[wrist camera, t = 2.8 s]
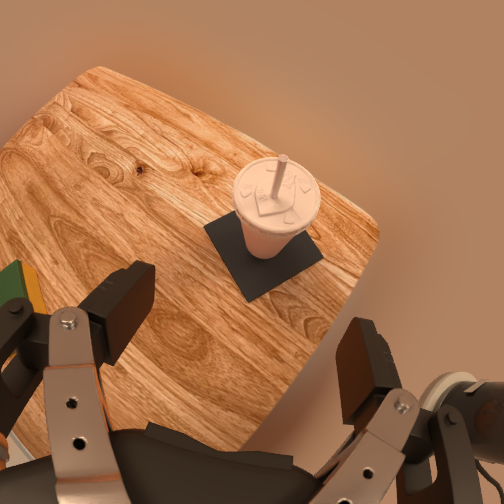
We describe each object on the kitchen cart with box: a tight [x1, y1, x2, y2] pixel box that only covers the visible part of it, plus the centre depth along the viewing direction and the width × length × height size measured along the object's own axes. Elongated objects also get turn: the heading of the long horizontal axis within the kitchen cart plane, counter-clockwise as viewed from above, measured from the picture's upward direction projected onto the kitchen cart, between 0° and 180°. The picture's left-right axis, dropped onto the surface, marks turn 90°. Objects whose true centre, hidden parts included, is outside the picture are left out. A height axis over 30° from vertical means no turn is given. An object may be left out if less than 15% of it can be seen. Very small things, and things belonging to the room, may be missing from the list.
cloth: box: [204, 211, 324, 303], centre depth 29 cm, size 9×9×1 cm
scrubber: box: [0, 259, 47, 357], centre depth 22 cm, size 9×6×4 cm, turn 31°
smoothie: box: [232, 154, 321, 259], centre depth 22 cm, size 6×6×14 cm
